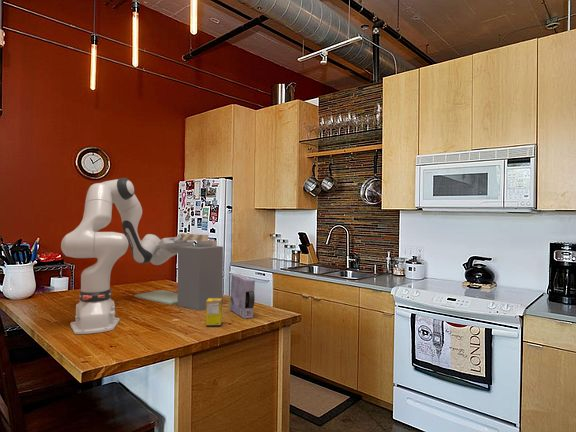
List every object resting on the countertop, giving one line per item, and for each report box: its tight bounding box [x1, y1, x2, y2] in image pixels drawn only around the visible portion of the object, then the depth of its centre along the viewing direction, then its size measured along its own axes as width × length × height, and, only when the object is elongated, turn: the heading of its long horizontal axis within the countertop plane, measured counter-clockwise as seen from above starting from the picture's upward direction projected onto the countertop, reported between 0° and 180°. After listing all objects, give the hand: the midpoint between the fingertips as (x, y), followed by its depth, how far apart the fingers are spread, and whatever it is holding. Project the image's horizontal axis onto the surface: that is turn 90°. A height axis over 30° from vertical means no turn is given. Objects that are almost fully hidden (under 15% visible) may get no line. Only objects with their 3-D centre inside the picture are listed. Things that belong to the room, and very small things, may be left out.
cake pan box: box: [229, 273, 256, 320], centre depth 183 cm, size 19×5×18 cm, turn 30°
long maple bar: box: [177, 233, 209, 242], centre depth 203 cm, size 20×3×3 cm, turn 55°
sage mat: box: [134, 289, 178, 306], centre depth 216 cm, size 32×18×1 cm, turn 54°
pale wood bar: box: [196, 239, 218, 247], centre depth 204 cm, size 12×3×3 cm, turn 54°
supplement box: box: [205, 298, 223, 328], centre depth 165 cm, size 6×6×11 cm
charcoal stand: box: [177, 244, 224, 311], centre depth 200 cm, size 16×16×30 cm
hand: (184, 235), depth 207 cm, fingers closed on long maple bar, 3 cm apart
